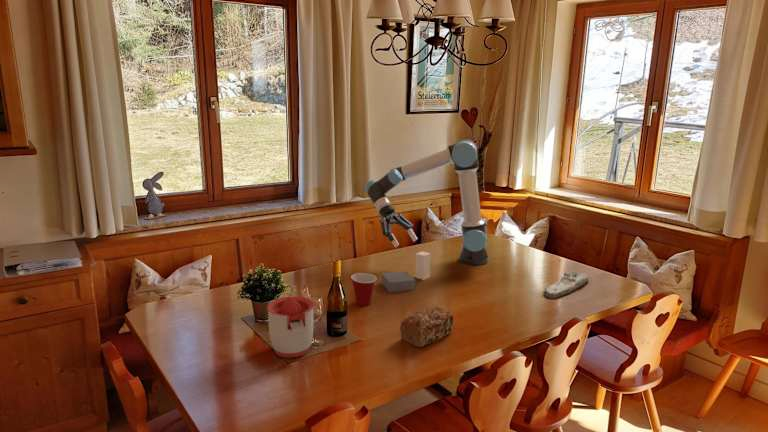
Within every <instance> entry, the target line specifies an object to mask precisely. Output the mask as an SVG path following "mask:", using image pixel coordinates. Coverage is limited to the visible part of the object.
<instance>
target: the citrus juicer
mask: <svg viewBox="0 0 768 432" xmlns="http://www.w3.org/2000/svg"><path fill="white" fill-rule="evenodd" d="M314 306H315V304H314V302H313V301H312V300H311V299H309V298H306V297H301V296H284V297H281V298H280V297H279V298H276V299H274V300H272V301H270V302H269V303H268V304H267V308H266V309H267V311H268V314H267V315H268V330H269V331H268V334H269V338H270V339H269V340H270V343H271V346H272V349H273V351H274V352H275V354H276V355H277V356H279V357H281V358H283V357H285V358H284V359H287V358H288V359H293V357H295V358H298V357H299V356H300V357H302V356H304V355H306V354H307V353H308V352H309V350H310V348H311V345H312V342H313V337H314V326H315V325H314Z"/></svg>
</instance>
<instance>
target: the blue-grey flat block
mask: <svg viewBox="0 0 768 432" xmlns="http://www.w3.org/2000/svg"><path fill="white" fill-rule="evenodd" d="M381 284H382V285H383V287H384V288H385V289H386V290H387V291H388V292H389V293H397V292H406V291H414V290H416V279H415V278H414V277H413V276H412V275H411V274H410V273H408V272H407V270H405V271H394V272H383V273H381Z"/></svg>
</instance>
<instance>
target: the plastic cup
mask: <svg viewBox="0 0 768 432" xmlns="http://www.w3.org/2000/svg"><path fill="white" fill-rule="evenodd" d="M350 278H351V280H352V286H353V291H354V297H355V302H356V305H358V306H359V307H360V306H361V307H367V306H370V304H371V302H372V296H373V292H374V287H375V283H376V282H377V280H378V278H377V276H376V275H374V274H371V273H366V272H357V273H354V274H352V275H351V276H350Z"/></svg>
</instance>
